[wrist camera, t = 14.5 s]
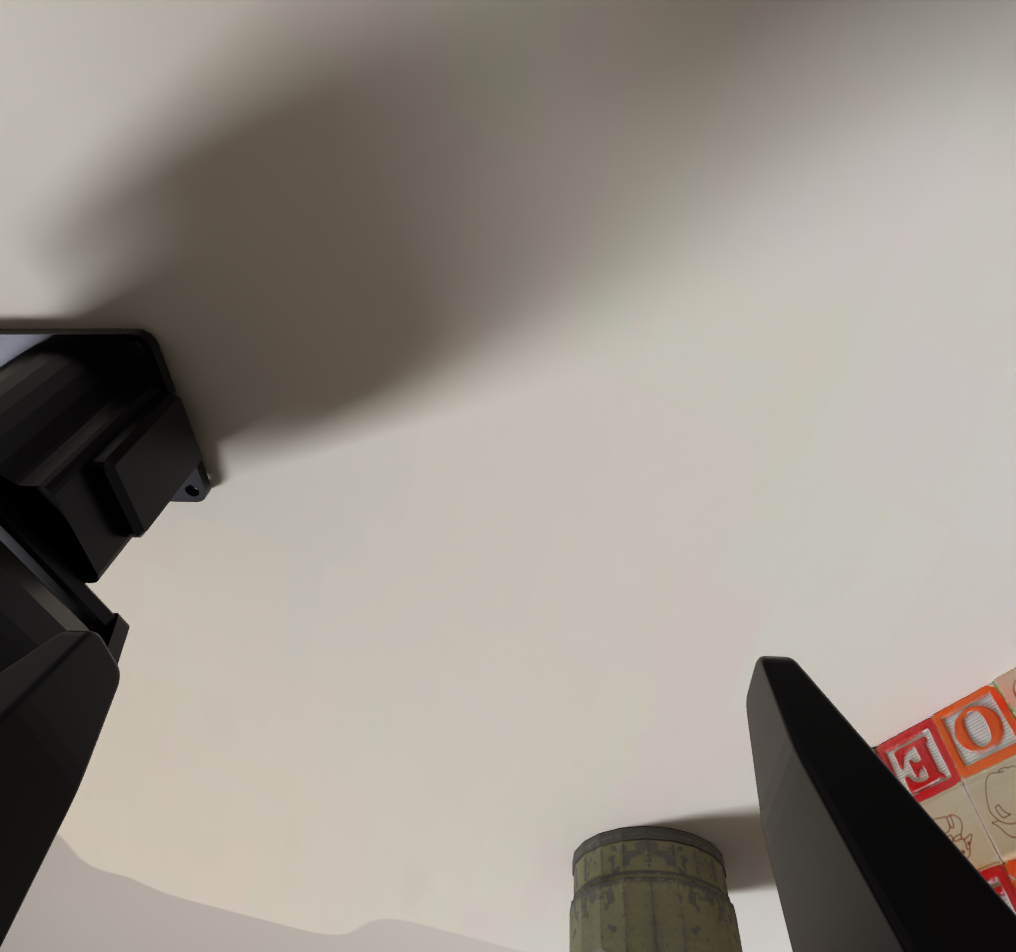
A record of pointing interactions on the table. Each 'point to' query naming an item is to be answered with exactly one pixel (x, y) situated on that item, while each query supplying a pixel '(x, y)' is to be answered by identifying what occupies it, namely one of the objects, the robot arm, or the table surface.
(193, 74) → the table surface
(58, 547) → the robot arm
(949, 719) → the stack of blocks
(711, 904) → the thermos
